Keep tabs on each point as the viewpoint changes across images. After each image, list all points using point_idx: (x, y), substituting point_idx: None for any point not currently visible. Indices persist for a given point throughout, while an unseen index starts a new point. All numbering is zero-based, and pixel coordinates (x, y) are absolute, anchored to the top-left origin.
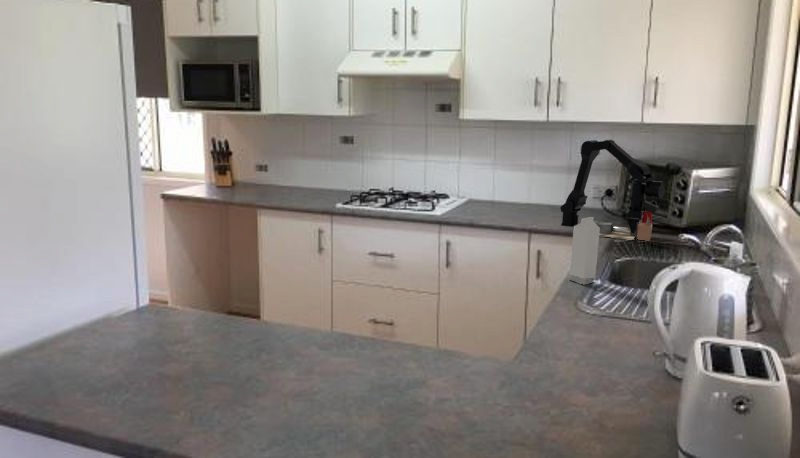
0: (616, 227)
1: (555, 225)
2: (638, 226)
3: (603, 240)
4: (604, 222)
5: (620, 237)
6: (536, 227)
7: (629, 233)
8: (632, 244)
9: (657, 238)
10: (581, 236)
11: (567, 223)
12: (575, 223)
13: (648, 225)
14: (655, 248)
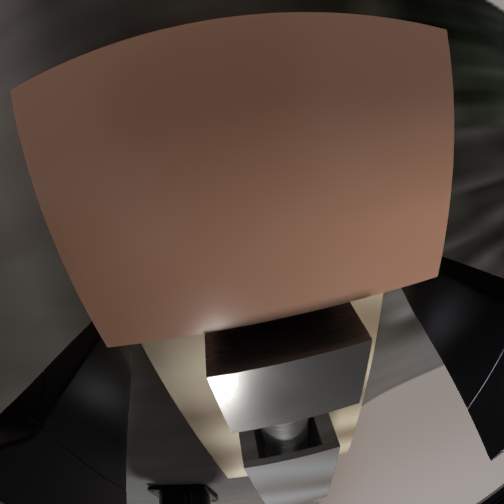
0: (302, 420)
1: (233, 499)
2: (430, 261)
3: (423, 350)
4: (262, 483)
5: (378, 313)
6: None
7: None
8: (471, 182)
9: (72, 36)
10: None
11: (209, 500)
12: (190, 495)
13: (327, 86)
14: (488, 16)
